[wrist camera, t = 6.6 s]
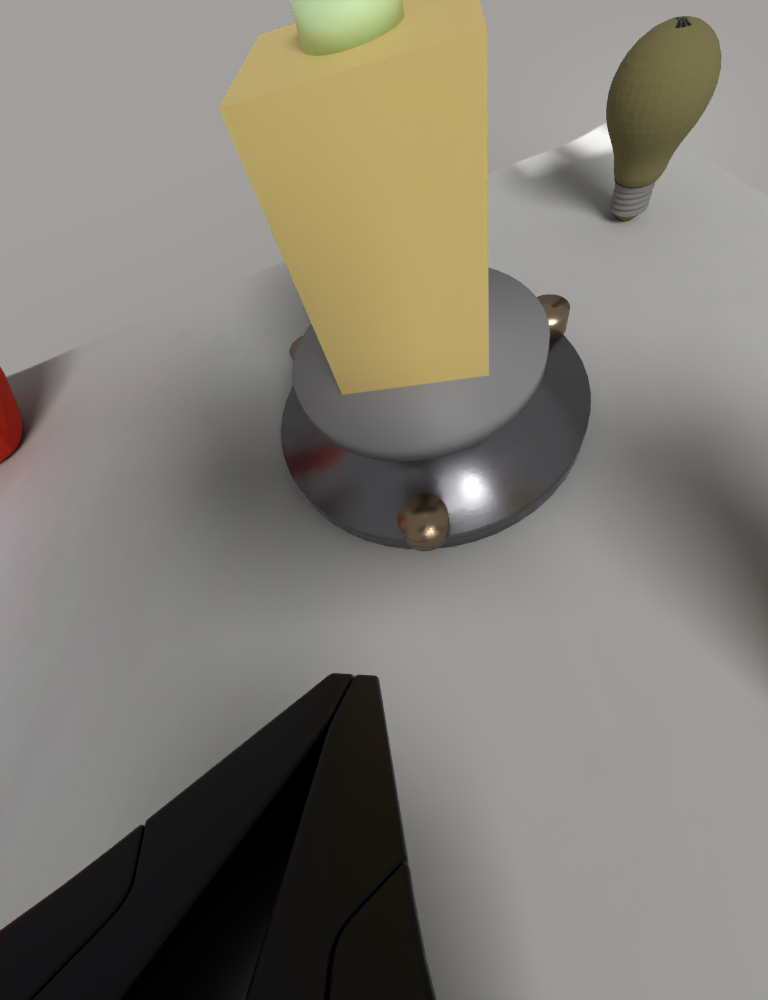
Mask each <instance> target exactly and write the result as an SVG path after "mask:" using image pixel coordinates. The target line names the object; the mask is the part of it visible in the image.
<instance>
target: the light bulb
mask: <svg viewBox="0 0 768 1000" xmlns="http://www.w3.org/2000/svg"><path fill="white" fill-rule="evenodd" d="M720 69H721V51H720V45H719V40H718V38H717V36H716V34H715V32H714V30H713V29H712V28H711V27H710V26H709V25H708V24H707V23H706V22H704V21H703V20H701V19H699V18H695V17H691V16H683V17H676V18H672V19H669V20H667V21H665V22H663V23H661V24H659V25H657V26H655V27H654V28H653V29H651V30H650V31H649V32H648V33H647V34H645V35H644V36H643V37H642V38H641V39H639V40H638V41H637V43H636V44H635V45H634V46H633V47H632V49H631V50H630V51H629V52H628V53H627V55H626V56H625V58H624V59H623V61H622V62H621V64H620V66H619V68H618V70H617V72H616V74H615V76H614V78H613V81H612V84H611V87H610V90H609V94H608V100H607V109H606V112H607V113H606V120H607V127H608V132H609V136H610V139H611V143H612V147H613V152H614V176H615V189H614V194H613V197H612V201H611V206H610V211H611V212H612V213H613V214H615V215H616V216H617V217H618V218H619V219H620V220H622V221H628V220H631V219H632V218H634V217H635V216H637V215H639V214H641V213H642V212H644V211H645V210H646V209H647V206H648V203H649V200H650V196H651V194H652V189H653V187H654V184H655V181H656V180H657V179H658V178H659V177H660V176H661V175H662V173H663V172H664V170H665V169H666V167H667V165H668V163H669V161H670V159H671V157H672V155H673V153H674V152H675V150H676V149H677V148H678V146H679V145H680V143H681V142H682V141H683V139H684V138H685V137H686V136H687V134H688V133H689V132H690V131H691V129H692V128H693V127H694V126H695V124H696V123H697V121H698V120H699V118H700V117H701V116H702V114H703V112H704V111H705V109H706V107H707V105H708V104H709V101H710V100H711V98H712V96H713V93H714V90H715V88H716V85H717V83H718V78H719V74H720Z"/></svg>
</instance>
